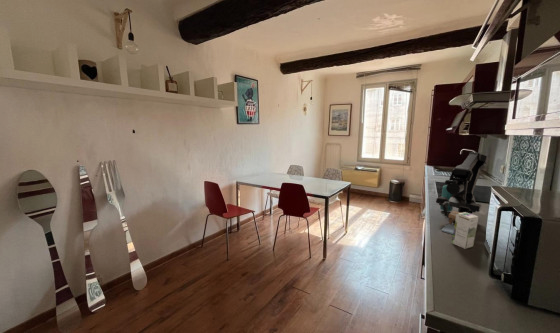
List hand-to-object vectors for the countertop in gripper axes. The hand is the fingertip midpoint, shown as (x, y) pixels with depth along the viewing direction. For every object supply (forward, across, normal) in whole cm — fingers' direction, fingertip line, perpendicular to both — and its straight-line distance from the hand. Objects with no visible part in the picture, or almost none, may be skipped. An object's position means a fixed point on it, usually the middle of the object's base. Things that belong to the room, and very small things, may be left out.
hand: (455, 218), depth 125 cm
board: (+3, +2, -10) cm, 11 cm away
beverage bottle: (+3, -9, +18) cm, 20 cm away
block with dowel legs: (+3, 0, 0) cm, 3 cm away
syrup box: (+3, +9, -25) cm, 27 cm away
